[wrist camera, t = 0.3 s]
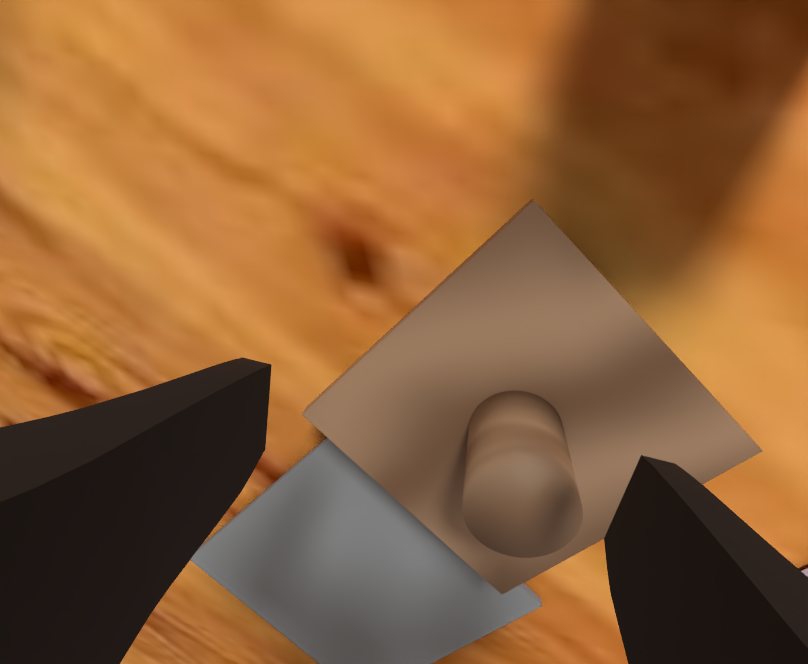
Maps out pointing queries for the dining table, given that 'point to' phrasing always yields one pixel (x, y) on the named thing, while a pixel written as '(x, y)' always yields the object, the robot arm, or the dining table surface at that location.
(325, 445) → the mat
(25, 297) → the dining table surface
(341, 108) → the dining table surface
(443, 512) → the lid
